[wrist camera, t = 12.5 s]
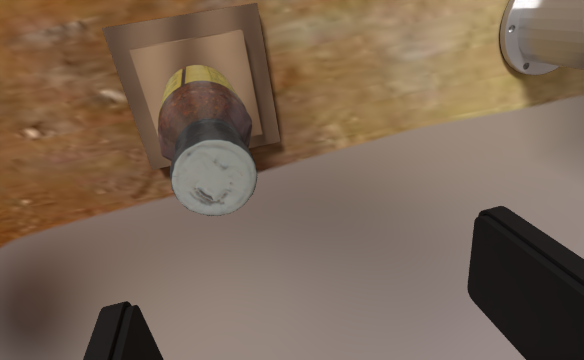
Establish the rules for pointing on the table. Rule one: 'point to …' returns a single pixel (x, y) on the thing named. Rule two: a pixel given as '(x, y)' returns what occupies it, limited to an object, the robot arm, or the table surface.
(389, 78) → the table surface
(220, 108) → the sauce bottle
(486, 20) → the table surface
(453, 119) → the table surface
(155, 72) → the pedestal
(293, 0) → the table surface
